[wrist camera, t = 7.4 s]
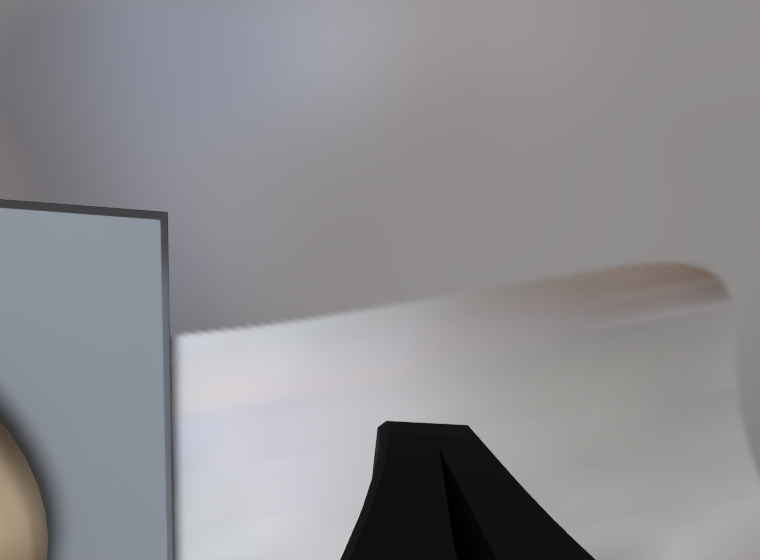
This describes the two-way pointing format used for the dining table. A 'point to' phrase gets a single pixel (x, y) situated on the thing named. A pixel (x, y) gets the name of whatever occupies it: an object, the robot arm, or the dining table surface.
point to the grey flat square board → (90, 373)
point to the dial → (20, 506)
